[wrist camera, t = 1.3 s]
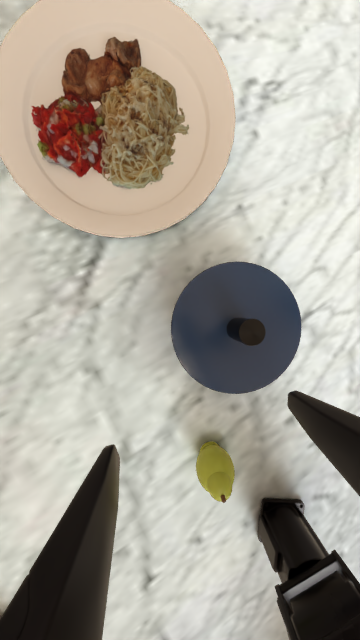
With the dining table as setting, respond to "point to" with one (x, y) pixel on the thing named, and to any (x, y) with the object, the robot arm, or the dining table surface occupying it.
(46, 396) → the dining table surface
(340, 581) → the robot arm
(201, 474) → the pear
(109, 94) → the plated food
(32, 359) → the dining table surface
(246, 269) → the tin lid
